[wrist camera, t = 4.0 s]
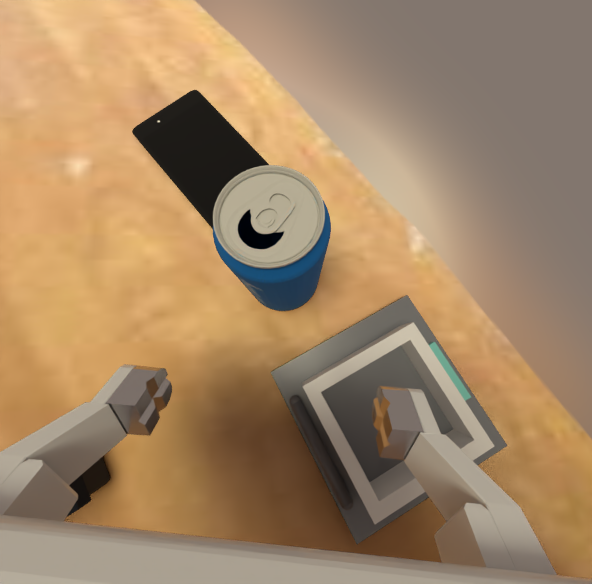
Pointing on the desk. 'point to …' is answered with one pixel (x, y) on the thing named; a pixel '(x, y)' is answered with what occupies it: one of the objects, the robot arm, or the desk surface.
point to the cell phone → (197, 149)
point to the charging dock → (358, 411)
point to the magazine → (89, 483)
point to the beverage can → (273, 234)
